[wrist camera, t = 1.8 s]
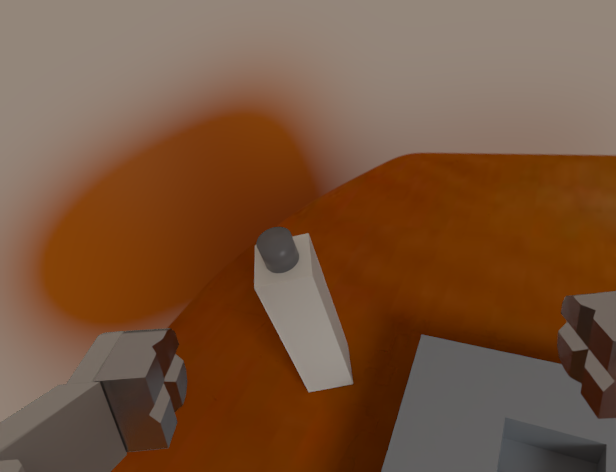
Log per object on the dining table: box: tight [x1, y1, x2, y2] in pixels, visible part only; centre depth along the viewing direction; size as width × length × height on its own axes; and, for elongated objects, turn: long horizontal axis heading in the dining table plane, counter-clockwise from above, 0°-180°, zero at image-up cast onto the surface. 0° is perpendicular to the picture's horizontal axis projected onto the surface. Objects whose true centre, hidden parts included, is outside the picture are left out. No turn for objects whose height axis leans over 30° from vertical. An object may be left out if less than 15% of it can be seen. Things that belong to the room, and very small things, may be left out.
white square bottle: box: [254, 227, 353, 392], centre depth 38 cm, size 4×4×17 cm
